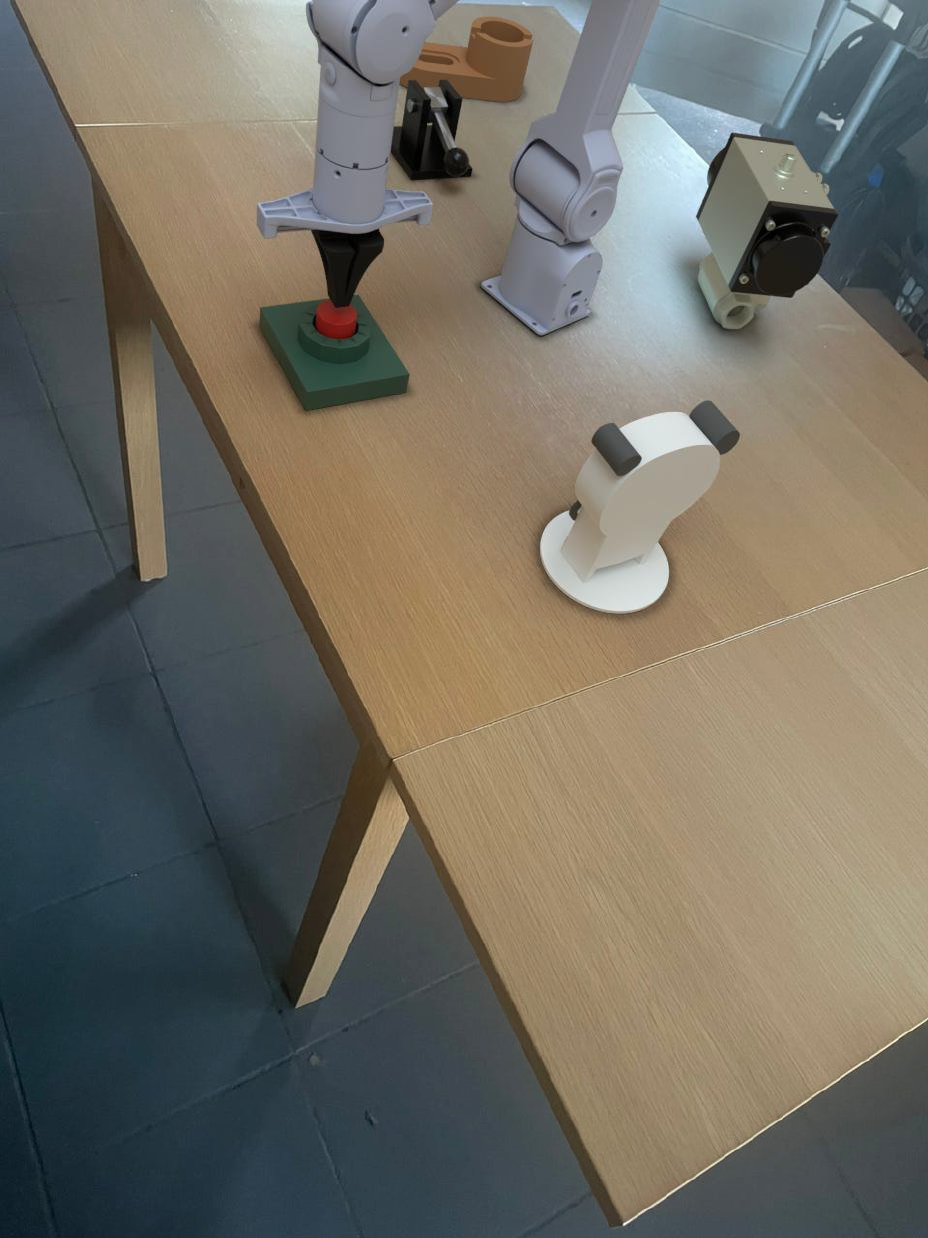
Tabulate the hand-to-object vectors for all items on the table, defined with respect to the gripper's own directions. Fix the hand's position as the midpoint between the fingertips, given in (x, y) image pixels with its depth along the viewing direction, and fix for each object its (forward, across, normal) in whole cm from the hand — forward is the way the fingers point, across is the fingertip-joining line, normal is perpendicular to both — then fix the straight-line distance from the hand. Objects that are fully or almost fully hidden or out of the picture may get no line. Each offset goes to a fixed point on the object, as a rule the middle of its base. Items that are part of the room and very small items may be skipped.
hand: (338, 300), depth 82 cm
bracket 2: (+7, -24, -33) cm, 42 cm away
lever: (+3, -25, -30) cm, 39 cm away
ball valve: (+7, -47, +1) cm, 48 cm away
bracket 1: (+7, -37, -51) cm, 63 cm away
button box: (+6, 0, 0) cm, 7 cm away
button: (+3, 0, 0) cm, 3 cm away
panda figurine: (+7, -14, +29) cm, 33 cm away
